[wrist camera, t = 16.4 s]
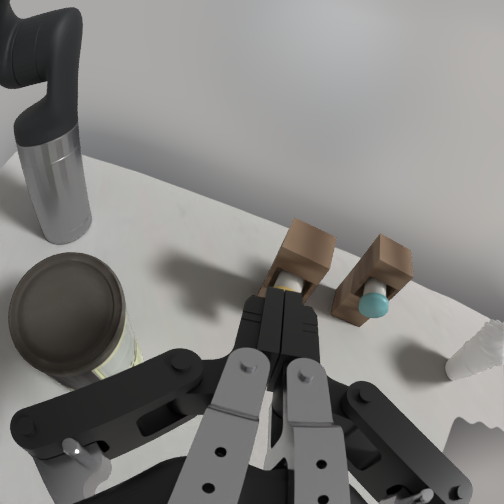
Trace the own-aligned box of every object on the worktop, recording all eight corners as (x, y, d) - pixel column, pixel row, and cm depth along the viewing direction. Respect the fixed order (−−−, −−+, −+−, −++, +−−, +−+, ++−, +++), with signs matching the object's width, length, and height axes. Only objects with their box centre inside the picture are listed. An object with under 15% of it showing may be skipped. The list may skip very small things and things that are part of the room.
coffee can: (89, 420, 21) (30, 396, 11) (53, 345, 25) (-1, 281, 15) (162, 380, 27) (150, 333, 17) (119, 311, 31) (96, 234, 21)
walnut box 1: (250, 310, 36) (281, 246, 27) (263, 283, 40) (294, 217, 30) (285, 326, 36) (329, 269, 26) (295, 298, 39) (336, 237, 30)
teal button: (353, 310, 32) (369, 294, 30) (358, 271, 37) (372, 254, 34) (376, 321, 32) (394, 306, 29) (380, 282, 37) (394, 266, 34)
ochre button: (260, 306, 30) (270, 287, 27) (279, 263, 34) (289, 243, 32) (291, 320, 29) (304, 303, 27) (306, 275, 34) (318, 257, 31)
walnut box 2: (330, 314, 39) (379, 259, 29) (336, 289, 42) (380, 233, 33) (359, 326, 38) (413, 277, 29) (363, 301, 42) (410, 250, 32)
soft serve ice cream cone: (468, 379, 35) (531, 339, 23) (448, 398, 32) (521, 358, 20) (452, 344, 40) (512, 299, 28) (432, 359, 37) (501, 311, 25)
